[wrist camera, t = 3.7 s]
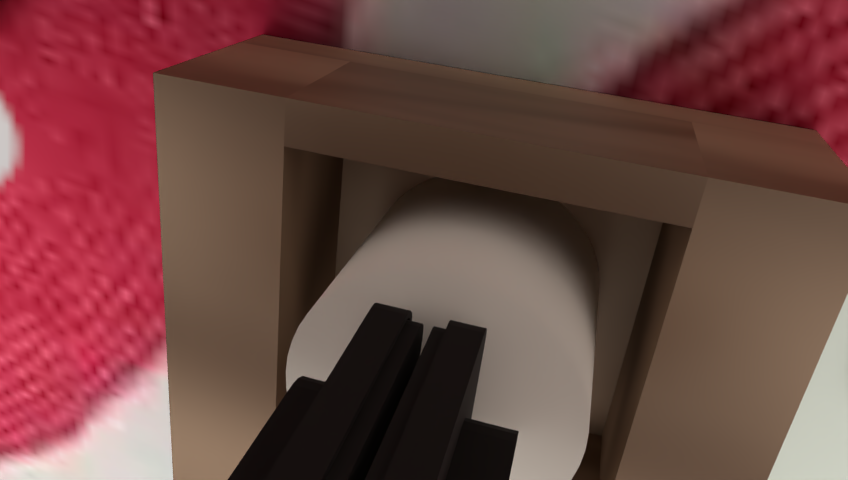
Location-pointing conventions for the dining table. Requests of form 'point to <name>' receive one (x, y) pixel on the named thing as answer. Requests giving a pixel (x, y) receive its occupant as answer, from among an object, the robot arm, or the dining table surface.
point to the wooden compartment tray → (515, 172)
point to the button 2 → (481, 308)
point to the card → (821, 417)
